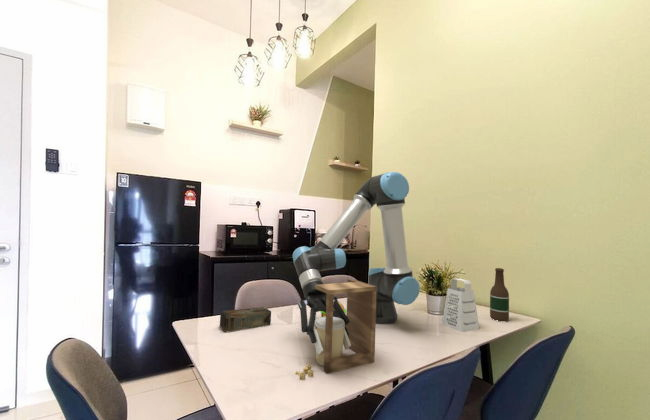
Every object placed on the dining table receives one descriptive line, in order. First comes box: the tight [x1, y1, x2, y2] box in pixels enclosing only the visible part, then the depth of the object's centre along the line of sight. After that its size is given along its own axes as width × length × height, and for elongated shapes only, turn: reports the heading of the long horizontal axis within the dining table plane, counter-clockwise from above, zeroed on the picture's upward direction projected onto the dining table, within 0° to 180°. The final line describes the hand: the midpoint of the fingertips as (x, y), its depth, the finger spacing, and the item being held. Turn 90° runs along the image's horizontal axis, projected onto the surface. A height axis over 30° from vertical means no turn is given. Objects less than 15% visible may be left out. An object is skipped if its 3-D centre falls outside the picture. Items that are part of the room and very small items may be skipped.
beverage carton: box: [219, 306, 272, 333], centre depth 120 cm, size 8×19×7 cm, turn 123°
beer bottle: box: [489, 267, 510, 322], centre depth 143 cm, size 8×8×24 cm
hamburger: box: [318, 301, 347, 317], centre depth 131 cm, size 12×12×9 cm
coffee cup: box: [314, 316, 345, 367], centre depth 92 cm, size 9×9×12 cm
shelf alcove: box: [315, 278, 377, 374], centre depth 95 cm, size 17×14×23 cm
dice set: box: [294, 363, 314, 381], centre depth 83 cm, size 5×5×2 cm
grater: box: [441, 278, 480, 332], centre depth 130 cm, size 10×10×20 cm
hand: (334, 350), depth 89 cm, fingers closed on coffee cup, 9 cm apart
